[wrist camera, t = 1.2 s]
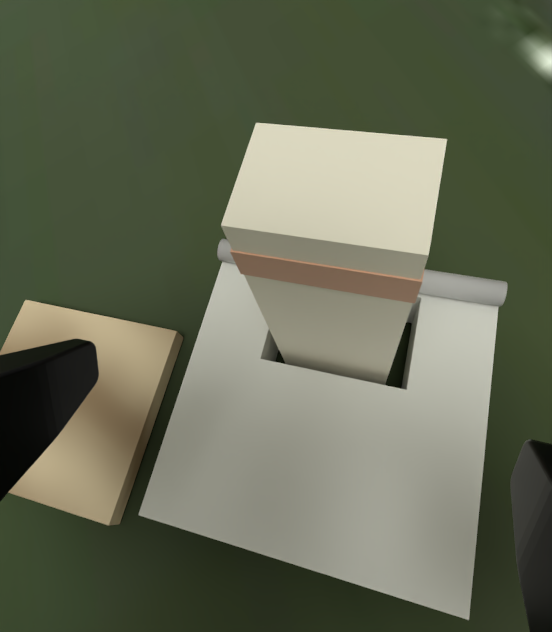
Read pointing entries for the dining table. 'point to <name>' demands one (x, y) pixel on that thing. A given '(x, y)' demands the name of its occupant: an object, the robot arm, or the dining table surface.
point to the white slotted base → (338, 446)
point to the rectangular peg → (335, 240)
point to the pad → (98, 410)
